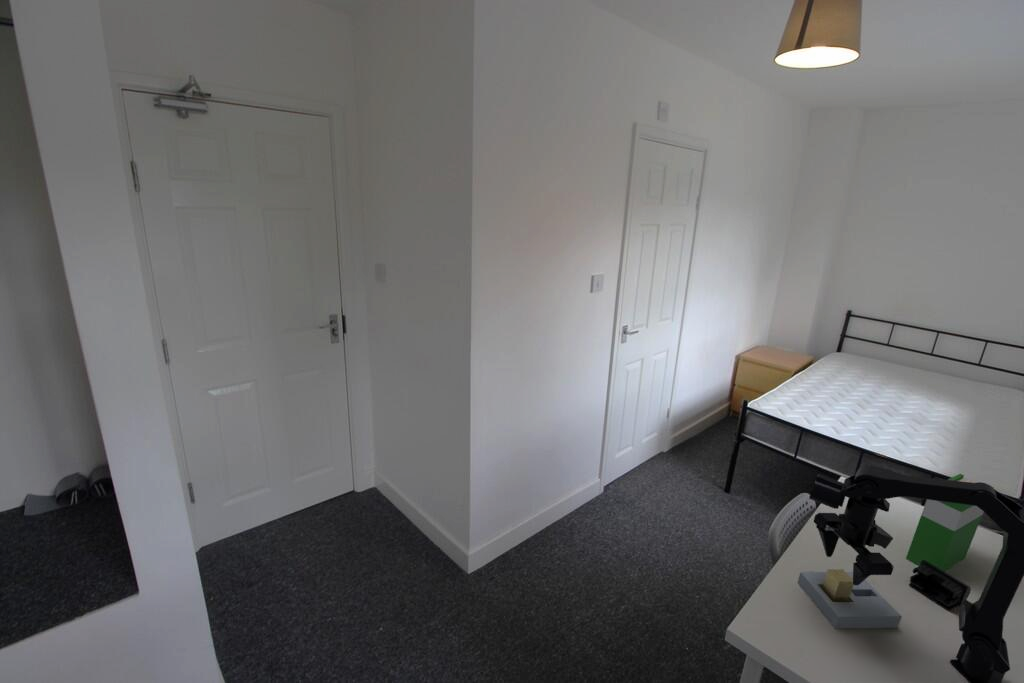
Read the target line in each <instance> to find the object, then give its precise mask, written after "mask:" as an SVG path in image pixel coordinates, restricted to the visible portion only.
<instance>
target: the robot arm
mask: <svg viewBox="0 0 1024 683" xmlns="http://www.w3.org/2000/svg"><path fill="white" fill-rule="evenodd" d="M971 482H972V481H971ZM971 482H961V481H952V480H948V479H942V478H941V479H940V478H932V477H923V476H915V475H906V474H901V473H899V472H896V471H893V470H891V469H888V468H885V467H880V466H877V465H872V464H869V465H868V464H867V465H862V466H861V467H860V468H858V470H857V471H856V473H854V474H853V475H851V476H848V477H847V478H845V479H844V481H843V482H841V481H839V480H836V479H834V478H831V477H828V476H827V475H824V474H820V473H818V474H817V476H816V478H815V482H814V484H813V485H812V488H811V490H810V493H809V498H808V499H809V500H811V501H813V502H816V503H819V504H822V505H824V506H826V507H829V508H832V509H835V510H836V509H837V510H838V509H839V507H840V508H842V507H843V505H844V502H845V500H846V498H848V500H847V503H846V506H845V509H844V512H843V513H839V514H837V513H836V512H818V513H817V514H815V516H814V519H813V523H815V525H816V527H815V528H816V529H817V531H818V533H819V536H820V540H821V542H822V546H823V549H824V552H825V556H826V557H827V558H831V557H832V556H833V554H834V552H835V549H836V547H837V544H838V541H839V539H841V540H842V541H843V542H844V543H845V544H846V545H847V546H850V547H851V548H852V549H853V550H854V551H855V552H856V553H857V555H856V556H855V562H853V565H852V566H853V567H852V568H853V570H852V572H853V584H854V585H859V584H860V583H862V582H863V581H864V580H866V579H869V577H870V576H891V575H893V574H892V573H893V571H894V567H895V566H894V565H893V564H892V562H891V561H890V560H888V559H887V558H886V557H885V556H884V555H883V554H882V553H881V552H871V551H870V550H869V549H868V548H867V547H866V546H868V547H871V548H872V547H874V546H875V545H876V546H879V547H882V548H883V549H887V548H888V546H889V545H890V544H891V542H892V541H893V539H894V537H893V536H892V535H890V533H888V532H887V531H886V530H884V529H883V528H882V527H881V526H879V525H878V524H877V523H876V520H875V519H876V516H877V513H878V510H880V511H883V512H886V513H888V512H889V511H890V505H891V504H890V502H889V501H888V500H889V499H893V498H899V497H900V498H904V497H906V498H912V499H913V498H915V499H920V500H927V499H928V500H935V501H943V502H950V503H958V504H965V505H973V506H977V507H979V508H980V509H981V510H982V511H984V512H983V513H985V514H986V515H987V517H989V518H990V519H991V520H992V521H993V522H994V523H995V524H996V525H997V526H998V527H999V528H1000V529H1002V532H1003V533H1002V547H1001V549H1000V551H999V554H998V556H997V558H996V560H995V563H994V565H993V567H992V569H991V572H990V573H989V576H988V579H987V581H986V582H985V585H984V588H983V589H982V592H981V594H980V597H979V598H978V599H977V600H976V601H975V602H971V601H969V600H967V599H966V600H964V603H963V607H962V608H961V609H960V610H959V611H958V612H957V614H958V631H960V632H961V637H962V641H963V642H964V643H961V645H960V646H959V648H958V651H957V653H956V656H955V659H950V660H949V663H950V664H951V665H952V666H953V667H954V668H955V669H956V670H957V671H958V672H959V673H960V674H961V675H962V676H963V677H964V678H965V679H966V680H968V682H969V683H1002V681H1003V679H1004V677H1005V675H1006V673H1007V672H1009V671H1011V666H1010V660H1009V653H1008V646H1007V642H1006V640H1005V638H1003V630H1004V629H1003V628H1004V627H1003V626H1004V619H1005V615H1006V614H1007V612H1008V611H1009V608H1010V606H1011V603H1012V602H1013V599H1014V598H1015V595H1016V593H1017V591H1018V588H1019V586H1020V584H1021V582H1022V580H1023V578H1024V507H1023V506H1022V505H1021V504H1020V503H1018V502H1017V501H1015V500H1014V499H1012V498H1010V497H1009V496H1006V495H1005V494H1003V493H1002V492H999V491H998V490H996V489H995V488H993V487H994V486H992V485H990V484H987V483H986V482H981V481H979V482H974V483H971Z"/></svg>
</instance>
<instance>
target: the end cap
mask: <svg viewBox="0 0 1024 683" xmlns="http://www.w3.org/2000/svg"><path fill="white" fill-rule="evenodd" d="M912 573H913V575H912V576H910V577H909V578H910V579H909V584H908V586H909V588H911V589H913V590H914V591H916V592H917V593H919V594H921V595H922V596H924V597H925V598H927V600H928V599H929V601H931V602H933V603H934V604H936V605H938V606H939V607H941V608H943V609H944V610H945V611H948V612H950V611H952V610H954V609H955V608H958V607H960V606H962V605H964V600H967V599H968V598H969V596H970V594H971V591H972V588H971V587H970V585H968V584H966V583H964V582H963V581H961V580H960V579H958V578H956V577H954V576H953V575H951V574H950V573H948V572H946V571H945V572H944V571H943V570H941V569H939V568H938V567H936V566H934V565H933V564H931V563H929V562H927V561H926V560H922V561H921V563H920V566H916V567H914V568H913V569H912Z"/></svg>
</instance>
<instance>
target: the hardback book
mask: <svg viewBox="0 0 1024 683" xmlns="http://www.w3.org/2000/svg"><path fill="white" fill-rule="evenodd" d="M964 476H965V474H962V473H959V474H957V475H954V476H952V477H950V478H948V479H947V480H952V481H961V482H971V483H975V482H973V481H972V480H969V479H966V478H964ZM992 487H993V488H994V486H992ZM994 489H995V488H994ZM923 506H924V507H923V510H922V513H921V514H920V515H921V516H920V518H919V521H918V523H917V526H916V529H915V532H914V534H913V537H912V540H911V542H910V546H909V548H908V551H907V554H906V557H905V560H907V561H909V562H910V563H912V564H914V565H915V566H916V567H918V566H920V563H921V561H922V560H926V561H927V562H929V563H931V564H933V565H934V566H936V567H938V568H939V569H941V570H943V571H944V572H946V571H947V570H949V569H950V568H952V567H954V566H955V565H956V564H958V563H959V562H961V561H962V560H964V559H966V557H967V554H968V552H969V550H970V547H971V544H972V542H973V540H974V537H975V534H976V532H977V529H978V527H979V525H980V522H981V519H982V517H983V514H984V513H985V512H984V511H982V510H981V509H980V508H979V507H977V506H973V505H965V504H958V503H950V502H943V501H935V500H928V499H926V501H925V504H924V505H923Z"/></svg>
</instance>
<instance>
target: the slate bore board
mask: <svg viewBox="0 0 1024 683" xmlns="http://www.w3.org/2000/svg"><path fill="white" fill-rule="evenodd" d="M845 572H846V573H847V574H848V575H849V576H850V577H851V578H852V579H853V571H845ZM826 573H827V571H800V572H799V575H798V580H797V584H798V585H799V587H800V588H801V589H802V590H803V591H804V593H805V594H806V596H808V597H809V599H810V600H811V601H812V602H813V603H814V605H815V606H816V607H817V608H818V610H819V611H820V612H821V613H822V615H823V616H824V617H825V618H826V619H827V621H828V622H829V623H830V624H831V626H832V627H833V629H871V628H872V629H881V628H882V629H886V628H887V629H891V628H892V629H894V628H895V629H896V628H899V625H900V622H901V621H902V620H901V619H902V615H901V614H900V613H899V612H898V610H896V609H895V608H894V607H893V606H892V604H890V603H889V601H887V600H886V599H885V598H884V596H882V594H880V592H878V591H877V590H876V589H875V588H874V587H873V586H872V585H871V584H870V583H869V582H868V581H867V580H866V579H865V580H864V581H863V582H862V583H860V584H859V585H853V588H852V591H851V594H850V598H849V601H848V602H832V601H831V600H830V598H829V597H828V596H827V595H826V594H825V593H824V591H823V590H822V587H823V583H824V580H825V577H826Z"/></svg>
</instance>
